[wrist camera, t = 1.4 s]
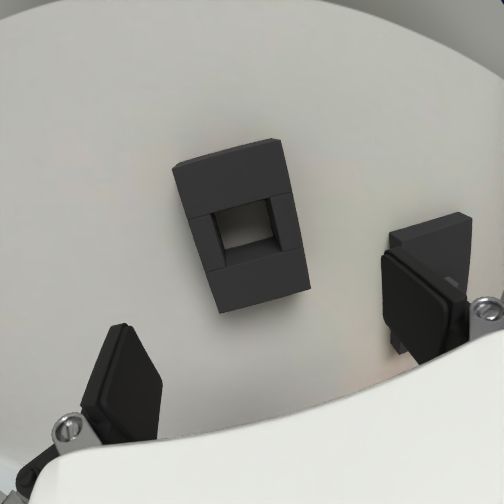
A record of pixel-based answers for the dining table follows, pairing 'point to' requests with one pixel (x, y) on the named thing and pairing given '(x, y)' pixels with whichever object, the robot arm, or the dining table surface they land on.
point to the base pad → (438, 250)
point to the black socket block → (235, 194)
